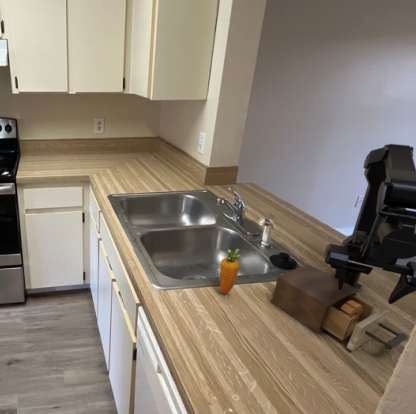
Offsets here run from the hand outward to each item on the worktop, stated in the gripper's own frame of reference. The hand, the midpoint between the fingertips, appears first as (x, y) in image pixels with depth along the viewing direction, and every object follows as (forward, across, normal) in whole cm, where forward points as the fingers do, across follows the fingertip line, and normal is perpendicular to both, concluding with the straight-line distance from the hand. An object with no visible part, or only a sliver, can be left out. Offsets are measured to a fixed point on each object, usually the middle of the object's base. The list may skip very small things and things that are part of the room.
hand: (363, 295), depth 76 cm
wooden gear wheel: (+7, 0, -1) cm, 7 cm away
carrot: (+12, +29, 0) cm, 32 cm away
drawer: (+11, 0, 0) cm, 11 cm away
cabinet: (+12, +9, -5) cm, 15 cm away
